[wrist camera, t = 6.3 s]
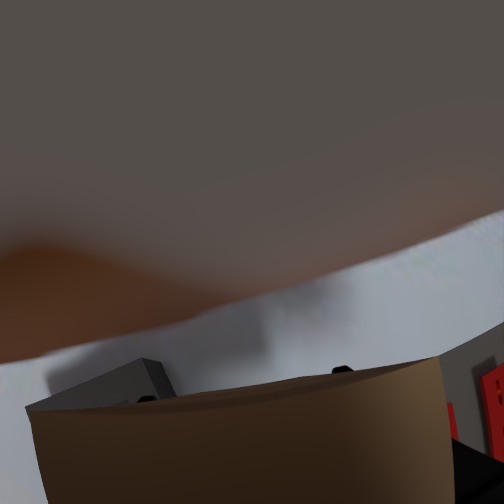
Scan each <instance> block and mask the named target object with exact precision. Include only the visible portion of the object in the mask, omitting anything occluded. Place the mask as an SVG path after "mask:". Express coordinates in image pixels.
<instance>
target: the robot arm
mask: <svg viewBox="0 0 504 504" xmlns="http://www.w3.org/2000/svg"><path fill="white" fill-rule="evenodd" d="M349 371H354V370H352V369H351V368H350V367H348V366H346V365H344V366H340V367H335V368H333V369H332V374H335V373H341V372H349ZM155 400H158V399H157V397H156V396H154V395H150V396H142V397H141V398H140V399H139V400H138V401H137V402H136V403H141V402H148V401H155ZM451 441H452V452H453V466H454V488H455V504H504V462H501V461H499V460H497V459H495V458H492V457H490V456H488V455H486V454H484V453H481V452H479V451H477V450H475V449H473V448H471V447H469V446H467V445H465V444H463V443H461V442H459V441H457V440H456V439H454V438H452V437H451Z"/></svg>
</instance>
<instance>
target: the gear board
mask: <svg viewBox="0 0 504 504" xmlns="http://www.w3.org/2000/svg"><path fill="white" fill-rule="evenodd" d="M438 357H439V362H440V367H441V373H442V378H443V383H444V389H445V395H446V402H447V408H448V416H449V423H450V432H451V437H452V438H454V439H456V440H457V441H459V442H461V443H463V444H465V445H467V446H469V447H471V448H473V449H475V450H477V451H479V452H481V453H484V454H486V455H488V456H490V457H492V458H495V459H497V460H499V461H501V462H504V323H502V324H500V325H499V326H497V327H495V328H493V329H491V330H490V331H488V332H486V333H484V334H482V335H480V336H478V337H477V338H475V339H473V340H471V341H469V342H467V343H465V344H463V345H461V346H459V347H457V348H455V349H453V350H451V351H448V352H446V353H444V354H442V355H440V356H438Z"/></svg>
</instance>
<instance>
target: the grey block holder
mask: <svg viewBox="0 0 504 504" xmlns="http://www.w3.org/2000/svg"><path fill="white" fill-rule="evenodd" d="M150 395H154V396H156V397H157V399H158V400H161V399H168V398H174V397H177V396H176V394H175V392H174V390H173V388H172V386H171V383H170V381H169V379H168V377H167V375H166V373H165V371H164V368H163V366H162V364H161V362H158V361H154V360H149V359H145V358H140V359H138V360H135V361H133V362H131V363H129V364H126V365H124V366H122V367H120V368H117V369H115V370H113V371H110V372H108V373H106V374H104V375H101V376H99V377H97V378H94V379H92V380H89V381H87V382H85V383H82V384H80V385H78V386H75V387H73V388H70V389H68V390H66V391H63V392H61V393H58V394H56V395H53V396H51V397H48V398H46V399H43V400H41V401H38V402H36V403H33V404H30V405H28V406H25V409H26V412H27V415H28V418H29V420H30V414H29V411H49V410H70V409H84V408H96V407H107V406H116V405H125V404H133V403H136V402H137V401H138V400H139V399H140V398H141V397H142V396H150ZM30 423H31V421H30Z"/></svg>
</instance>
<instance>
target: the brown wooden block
mask: <svg viewBox="0 0 504 504" xmlns="http://www.w3.org/2000/svg"><path fill="white" fill-rule="evenodd" d="M29 414H30V421H31V428H32V434H33V440H34V446H35V451H36V456H37V461H38V465H39V470H40V474H41V478H42V482H43V486H44V490H45V493H46V497H47V500H48V504H455V488H454V466H453V452H452V441H451V432H450V423H449V416H448V408H447V402H446V395H445V389H444V383H443V378H442V373H441V367H440V362H439V357H438V356H436V357H431V358H426V359H421V360H416V361H411V362H406V363H401V364H395V365H389V366H383V367H377V368H370V369H364V370H357V371H349V372H341V373H335V374H324V375H314V376H303V377H297V378H292V379H287V380H282V381H276V382H270V383H265V384H259V385H253V386H246V387H239V388H232V389H225V390H217V391H209V392H201V393H196V394H191V395H185V396H179V397H174V398H168V399H161V400H155V401H148V402H141V403H133V404H125V405H116V406H107V407H96V408H84V409H70V410H49V411H29Z"/></svg>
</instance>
